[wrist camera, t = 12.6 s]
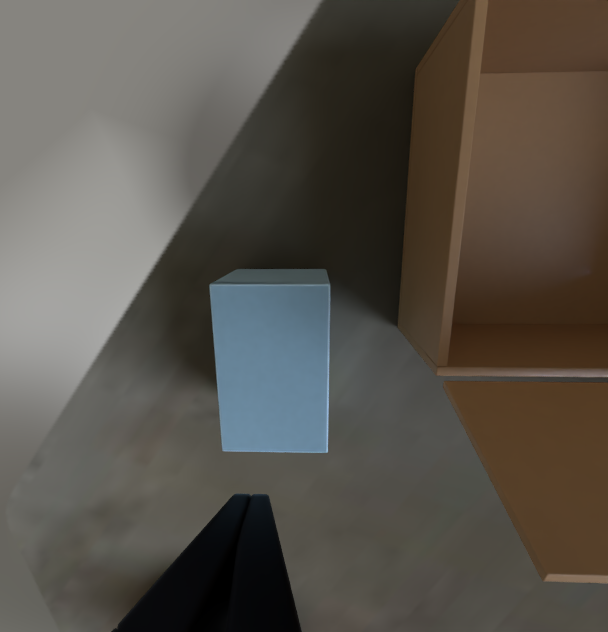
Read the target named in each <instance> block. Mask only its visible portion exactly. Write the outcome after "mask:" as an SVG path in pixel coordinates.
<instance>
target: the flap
mask: <svg viewBox="0 0 608 632" xmlns="http://www.w3.org/2000/svg"><path fill="white" fill-rule="evenodd" d="M443 388H444V390H445V392H446V394H447V396H448V398H449V400H450V402H451V404H452V406H453V408H454V410H455V412H456V414H457V415H458V417H459V419H460V421H461V423H462V425H463V427H464V429H465V431H466V433H467V435H468V437H469V439H470V441H471V443H472V445H473V447H474V449H475V451H476V452H477V454H478V456H479V458H480V460H481V462H482V464H483V466H484V468H485V470H486V472H487V474H488V476H489V478H490V480H491V482H492V484H493V486H494V488H495V489H496V491H497V493H498V495H499V497H500V499H501V501H502V503H503V505H504V507H505V509H506V511H507V513H508V515H509V517H510V519H511V521H512V523H513V525H514V527H515V528H516V530H517V532H518V534H519V536H520V538H521V540H522V542H523V544H524V546H525V548H526V550H527V552H528V554H529V556H530V558H531V560H532V562H533V564H534V565H535V567H536V569H537V571H538V573H539V575H540V577H541V579H542V581H550V582H585V583H608V383H595V382H493V381H444V384H443Z"/></svg>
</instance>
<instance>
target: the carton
mask: <svg viewBox="0 0 608 632" xmlns="http://www.w3.org/2000/svg"><path fill="white" fill-rule="evenodd" d="M398 329H399V330H400V331H401V333H402V334H403V335H404V336H405V337H406V339H407V340H408V341H409V342H410V344H411V345H412V346H413V347H414V349H415V350H416V351H417V352H418V354H419V355H420V356H421V357H422V359H423V360H424V361H425V362H426V364H427V365H428V366H429V367H430V368H431V370H432V371H433V372H434V373H435V375H437V376H528V377H608V0H460V1H459V2H458V4H457V6H456V7H455V9H454V10H453V12H452V13H451V15H450V16H449V18H448V20H447V21H446V23H445V24H444V26H443V27H442V29H441V31H440V32H439V34H438V35H437V37H436V38H435V40H434V41H433V43H432V45H431V46H430V48H429V49H428V51H427V52H426V54H425V55H424V57H423V59H422V60H421V62H420V63H419V65H418V66H417V68H416V70H415V84H414V99H413V113H412V127H411V142H410V156H409V170H408V185H407V199H406V214H405V228H404V242H403V257H402V271H401V285H400V300H399V314H398Z"/></svg>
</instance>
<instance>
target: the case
mask: <svg viewBox="0 0 608 632" xmlns="http://www.w3.org/2000/svg"><path fill="white" fill-rule="evenodd" d="M209 288H210V301H211V314H212V327H213V339H214V352H215V365H216V378H217V391H218V403H219V416H220V429H221V442H222V451H246V452H309V453H327V452H328V407H329V343H330V282H329V278H328V275H327V271H326V269H236V270H234V271H233V272H231V273H229V274H227V275H225V276H224V277H222V278H220V279H218V280H216V281H215V282H213V283H211V284H210V285H209Z"/></svg>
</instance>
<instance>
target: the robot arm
mask: <svg viewBox="0 0 608 632" xmlns="http://www.w3.org/2000/svg"><path fill="white" fill-rule="evenodd" d="M112 632H302V631H301V627H300V623H299V619H298V615H297V611H296V607H295V602H294V598H293V594H292V590H291V586H290V582H289V578H288V574H287V569H286V565H285V561H284V557H283V553H282V549H281V545H280V541H279V536H278V532H277V528H276V524H275V520H274V516H273V512H272V508H271V503H270V499H269V496H268V495H267V494H253V495H252V496H251V495H250V494H234V495H233V496H232V497H231V498H230V499H229V500H228V502H227V503H226V504H225V505H224V506H223V507H222V508H221V509H220V511H219V512H218V513H217V514H216V515H215V516H214V517H213V518H212V519H211V521H210V522H209V523H208V524H207V525H206V526H205V527H204V528H203V530H202V531H201V532H200V533H199V534H198V535H197V536H196V537H195V539H194V540H193V541H192V542H191V543H190V544H189V545H188V546H187V548H186V549H185V550H184V551H183V552H182V553H181V554H180V555H179V557H178V558H177V559H176V560H175V561H174V562H173V563H172V564H171V566H170V567H169V568H168V569H167V570H166V571H165V572H164V573H163V575H162V576H161V577H160V578H159V579H158V580H157V581H156V582H155V584H154V585H153V586H152V587H151V588H150V589H149V590H148V591H147V593H146V594H145V595H144V596H143V597H142V598H141V599H140V600H139V602H138V603H137V604H136V605H135V606H134V607H133V608H132V609H131V611H130V612H129V613H128V614H127V615H126V616H125V617H124V618H123V620H122V621H121V622H120V623H119V624H118V629H116V628H115V629H113V631H112Z"/></svg>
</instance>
